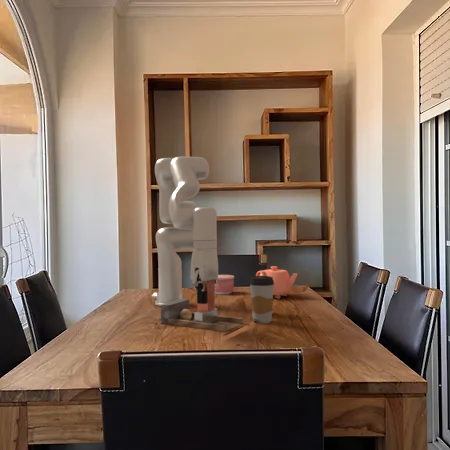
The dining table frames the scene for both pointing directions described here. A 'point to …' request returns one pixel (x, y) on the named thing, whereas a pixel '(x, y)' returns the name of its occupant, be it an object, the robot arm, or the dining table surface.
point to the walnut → (185, 314)
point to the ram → (207, 306)
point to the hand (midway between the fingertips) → (205, 301)
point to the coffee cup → (262, 298)
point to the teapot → (279, 280)
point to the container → (224, 284)
